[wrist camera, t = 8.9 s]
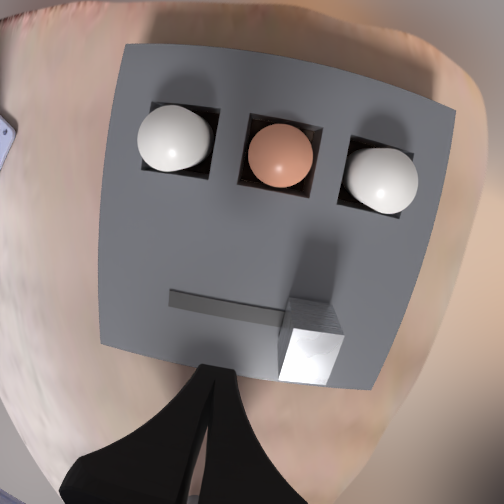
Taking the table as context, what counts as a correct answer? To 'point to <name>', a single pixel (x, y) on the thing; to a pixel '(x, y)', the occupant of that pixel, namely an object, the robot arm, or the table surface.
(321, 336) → the slider knob
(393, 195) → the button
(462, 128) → the table surface
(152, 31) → the table surface
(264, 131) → the middle button
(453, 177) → the table surface
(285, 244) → the control panel
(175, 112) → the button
